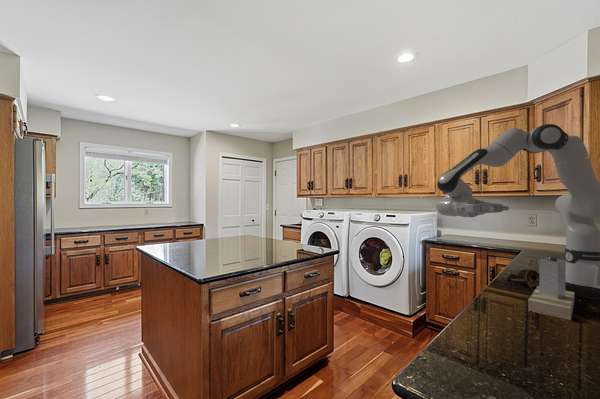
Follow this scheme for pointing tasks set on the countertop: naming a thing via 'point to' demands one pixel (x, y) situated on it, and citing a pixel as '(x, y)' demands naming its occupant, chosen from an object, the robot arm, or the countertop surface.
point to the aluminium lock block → (552, 277)
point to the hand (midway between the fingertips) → (501, 208)
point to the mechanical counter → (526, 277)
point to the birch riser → (552, 305)
